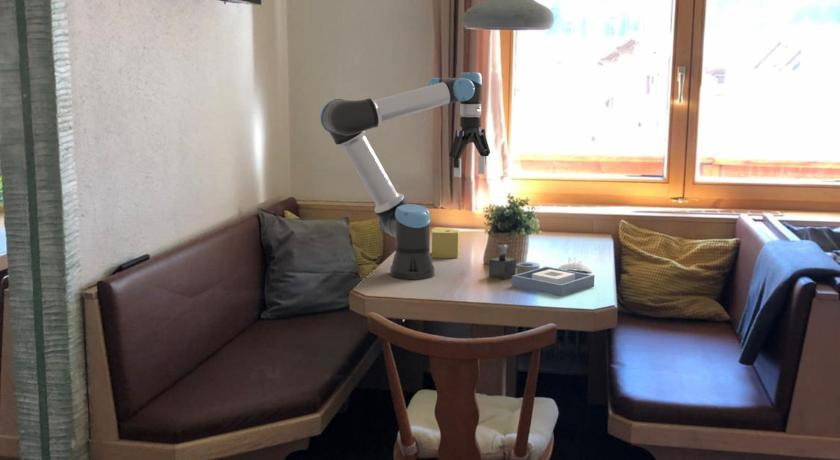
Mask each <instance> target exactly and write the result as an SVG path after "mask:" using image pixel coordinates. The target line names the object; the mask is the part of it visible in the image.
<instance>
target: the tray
mask: <svg viewBox="0 0 840 460" xmlns="http://www.w3.org/2000/svg"><path fill="white" fill-rule="evenodd" d="M548 269H551V270H557V271H562V272H568V273H573V274H575V280H573V281H570V282H567V283H563V284H557V283H552V282H547V281H541V280H536V279H532V274H533V273H537V272H541V271H545V270H548ZM595 276H596V275H595V274H590V273H589V274H588V273H584V272H578V271H575V270H574V271H573V270H570V271H569V269H558V268H556V267H550V266H542V267H540V268H535V269H532V270H529V271H524V272H521V273H516V275H513V276H512V278H511V287H514V288H520V289H523V290H530V291H532V292H533V291H534V292H539V293H544V294H549V295H552V296H558V297H563V296H568V295H570V294H573V293H576V292H579V290H580V291H582V289H583V290H585V288H586V289H588V288H592V287H594V286H595ZM591 286H592V287H591Z"/></svg>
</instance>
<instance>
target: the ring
mask: <svg viewBox="0 0 840 460" xmlns="http://www.w3.org/2000/svg"><path fill="white" fill-rule="evenodd" d="M532 279H536V280H541V281H547V282H552V283H557V284H563V283H567V282H570V281H573V280H575V274H573V273H568V272H562V271H557V270H551V269H548V270H545V271H541V272H537V273H533V274H532Z"/></svg>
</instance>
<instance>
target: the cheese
mask: <svg viewBox="0 0 840 460" xmlns="http://www.w3.org/2000/svg"><path fill="white" fill-rule="evenodd" d="M460 253H461V245H460V230H459V229H453V228H450V227H449V228H448V227H441V226H440V227H433V230H432V233H431V259H432V258H435V259H437V258H438V259H442V258H443V259H458V258H459V254H460Z"/></svg>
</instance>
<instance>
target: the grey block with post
mask: <svg viewBox="0 0 840 460" xmlns="http://www.w3.org/2000/svg"><path fill="white" fill-rule="evenodd" d="M507 249H509V245H508V244H506V243H504V244H499V245H497V250H498V256H497V257H494V258H489V263H488V265H489V266H488V277H489V278H493V279H498V280H502V281H504V280H507V279H512V276H513V275H516V274H517V273H516V272H517V271H516V268H517V262H516V261H517V259H516V258H511V257H507Z"/></svg>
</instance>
